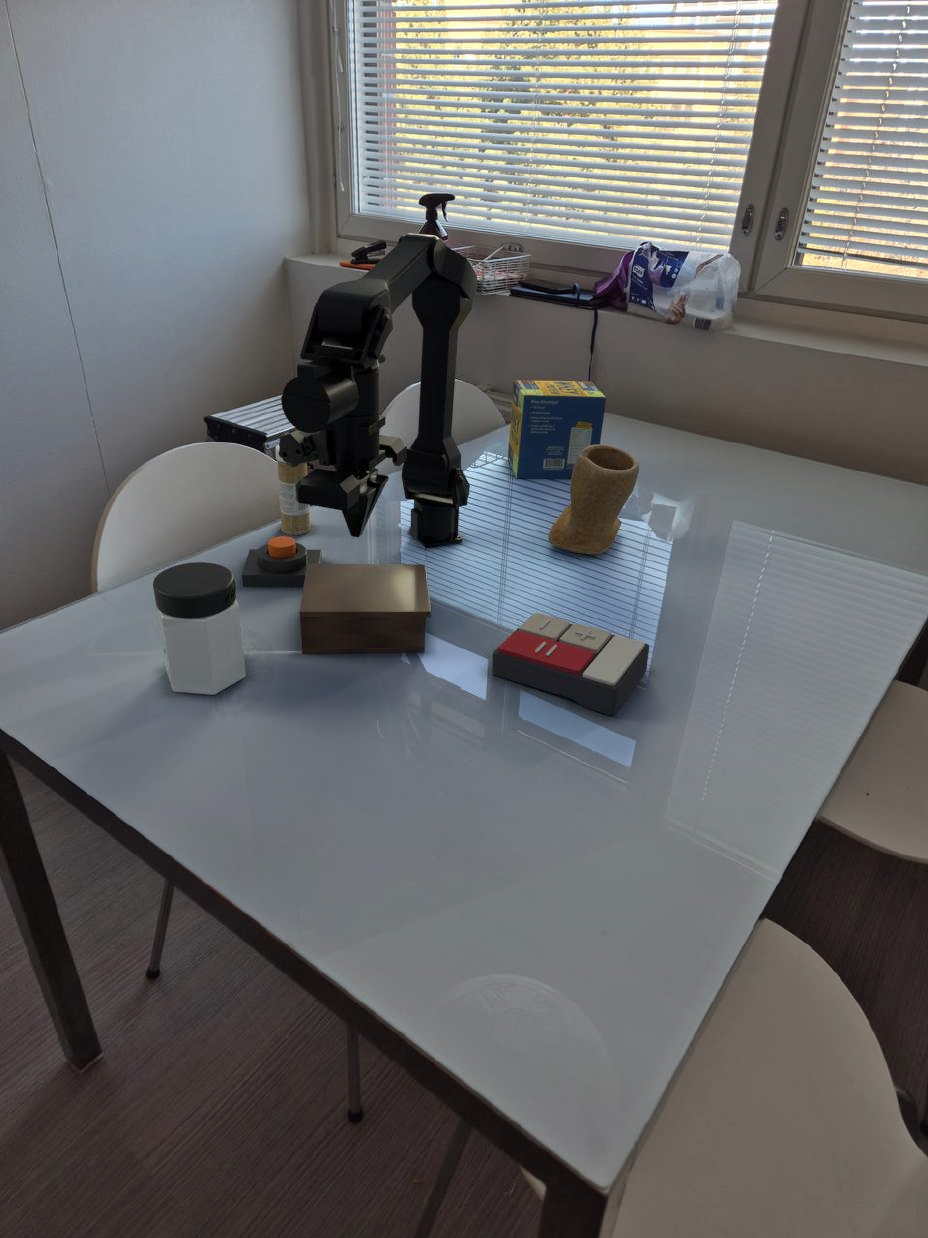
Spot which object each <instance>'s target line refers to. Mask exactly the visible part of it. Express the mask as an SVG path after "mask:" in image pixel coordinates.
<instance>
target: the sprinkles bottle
mask: <svg viewBox="0 0 928 1238" xmlns="http://www.w3.org/2000/svg"><path fill="white" fill-rule="evenodd" d="M274 449H275V460H276V463H277V476H278V479H277V483H278V497H279V511H280V518H281V519H280V520H281V527H280V528H281V532H283V533H285V534H286V535H289V536H290V535H291V536H302V535H306V534H307V533H309V532H310V531H311V529H312V526H311V520H310V519H311V517H310V510H311V507H310V506H311V505H308V504H302V503H298V502H297V500H296V486H295V485H296V484H297V483H298V482H299V481H300V480H301V479H302V478H303V477H305V476H306V475H308V462H305V463H301V464H299V466H296V467H291V465H290V463H287V462H285V461H284V460H283V459H282V458H281V457H280V456H279V451H280V450H279V443H278V444H277V445H276V446H275V448H274Z"/></svg>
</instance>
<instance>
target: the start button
mask: <svg viewBox="0 0 928 1238" xmlns="http://www.w3.org/2000/svg"><path fill="white" fill-rule="evenodd" d="M295 543H296V540H295V539H294V537H293V538H292V537H290V536H287V535H286V536H284V535H283V536H282V535H281V536H275V537H272V538H270V539H269V540H268V541H267V544H268V550H269V555H270V556H271V557H275V558H287V557H291V556H294V555H295V553H296V548H295Z"/></svg>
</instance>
